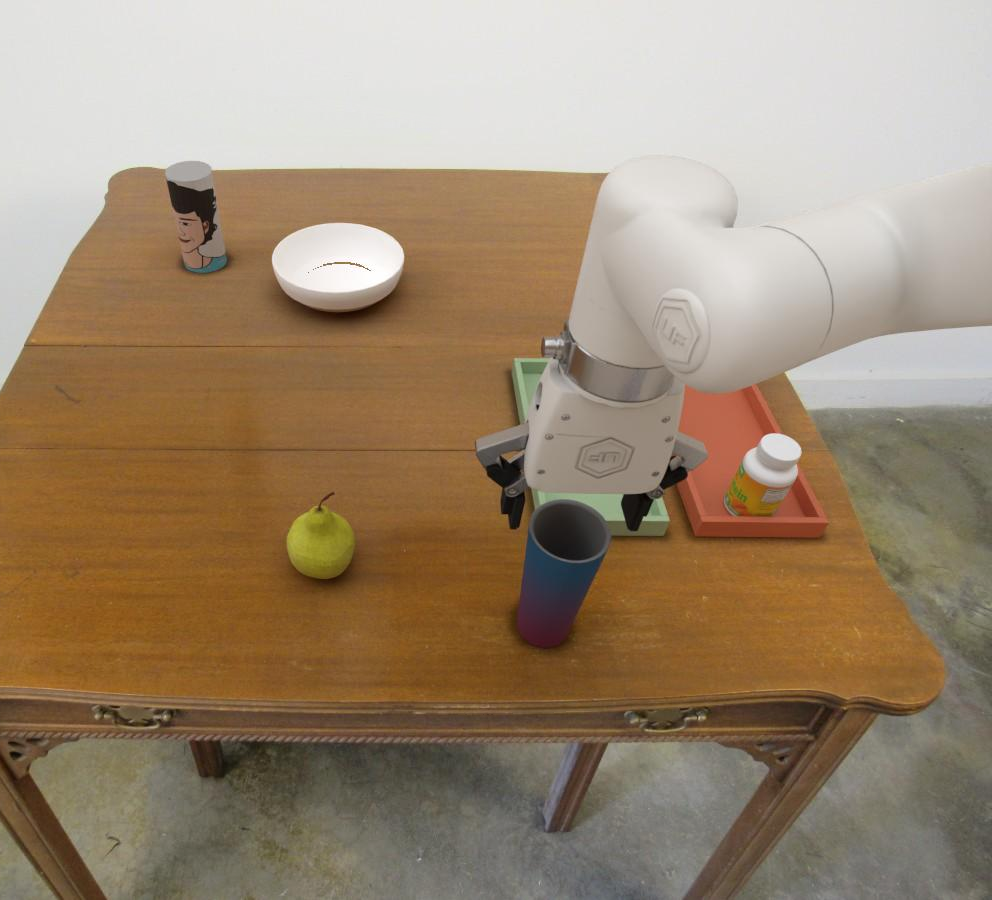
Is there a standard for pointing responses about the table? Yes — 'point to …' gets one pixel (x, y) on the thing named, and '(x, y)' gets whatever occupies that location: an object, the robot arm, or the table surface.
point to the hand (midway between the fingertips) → (570, 516)
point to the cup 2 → (559, 568)
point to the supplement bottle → (764, 477)
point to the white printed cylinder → (196, 215)
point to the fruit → (320, 543)
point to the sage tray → (607, 505)
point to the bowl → (338, 266)
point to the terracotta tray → (727, 438)
